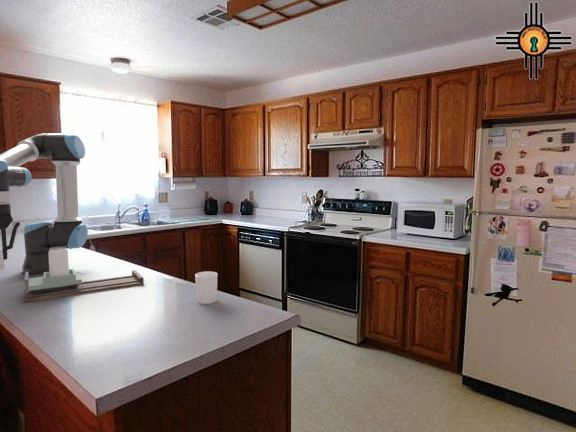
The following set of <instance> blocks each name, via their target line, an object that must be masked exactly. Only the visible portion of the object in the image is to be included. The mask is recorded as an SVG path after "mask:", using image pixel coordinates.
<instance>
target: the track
mask: <svg viewBox="0 0 576 432" xmlns="http://www.w3.org/2000/svg"><path fill="white" fill-rule="evenodd" d="M144 284H145V280H144V277H143V276H142V275H141V274H140V273H139V272H138V271H137V270H135V269H134V270H131V274H130V275H125V276H117V277H116V276H115V277H107V278H102V279H101V278H100V279H93V280H88V281H87V280H86V281H82V284H78V287H77V288H76V289H73V288H71V285H67V286H60V287H53V288H45V289H41V292H40V293H39V294H35V293H34V292H33V290H31V291H29V293H26V291H25V290H24V295H23V303H30V302H36V301H37V302H38V301H43V300H44V301H45V300H50V299H56V298H63V297H69V296H76V295H77V296H78V295H85V294H91V293H97V292H104V291H111V290H117V289H125V288H131V287H137V286H138V287H139V286H143V285H144Z"/></svg>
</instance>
